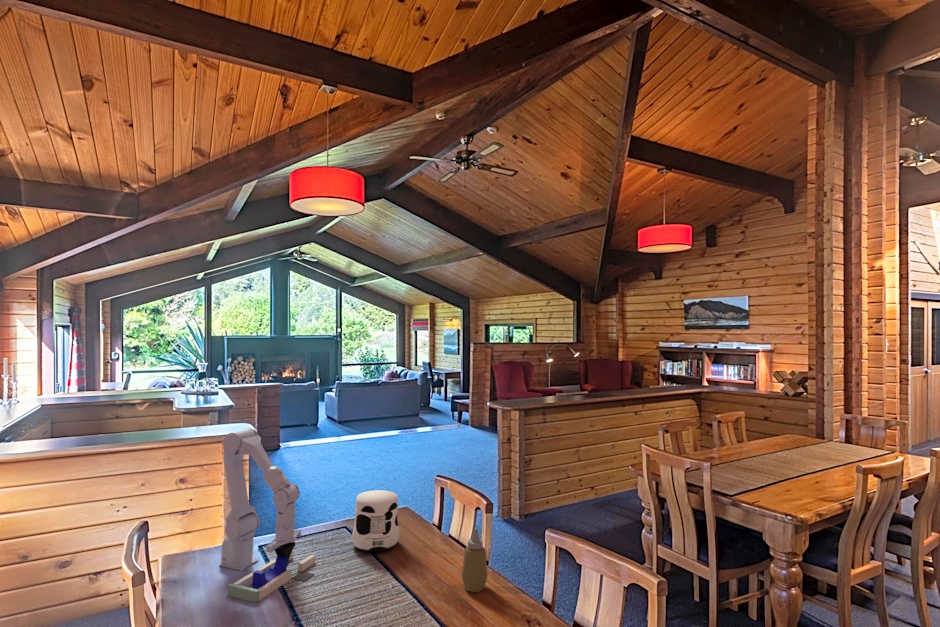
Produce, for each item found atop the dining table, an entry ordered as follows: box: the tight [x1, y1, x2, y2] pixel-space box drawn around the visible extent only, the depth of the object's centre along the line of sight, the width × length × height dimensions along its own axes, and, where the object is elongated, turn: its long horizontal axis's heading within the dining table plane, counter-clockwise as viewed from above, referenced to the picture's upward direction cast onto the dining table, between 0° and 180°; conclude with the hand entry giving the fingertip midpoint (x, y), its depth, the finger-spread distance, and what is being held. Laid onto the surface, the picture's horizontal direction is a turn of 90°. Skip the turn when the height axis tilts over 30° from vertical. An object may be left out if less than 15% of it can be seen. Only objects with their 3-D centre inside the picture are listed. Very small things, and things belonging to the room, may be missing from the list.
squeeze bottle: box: [461, 528, 488, 593], centre depth 152 cm, size 8×8×18 cm
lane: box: [226, 550, 316, 603], centre depth 155 cm, size 10×27×3 cm, turn 161°
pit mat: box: [290, 571, 315, 583], centre depth 156 cm, size 5×5×1 cm
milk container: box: [351, 489, 400, 553], centre depth 181 cm, size 17×17×18 cm
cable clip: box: [251, 556, 288, 589], centre depth 151 cm, size 12×4×6 cm, turn 164°
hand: (283, 566), depth 159 cm, fingers closed
